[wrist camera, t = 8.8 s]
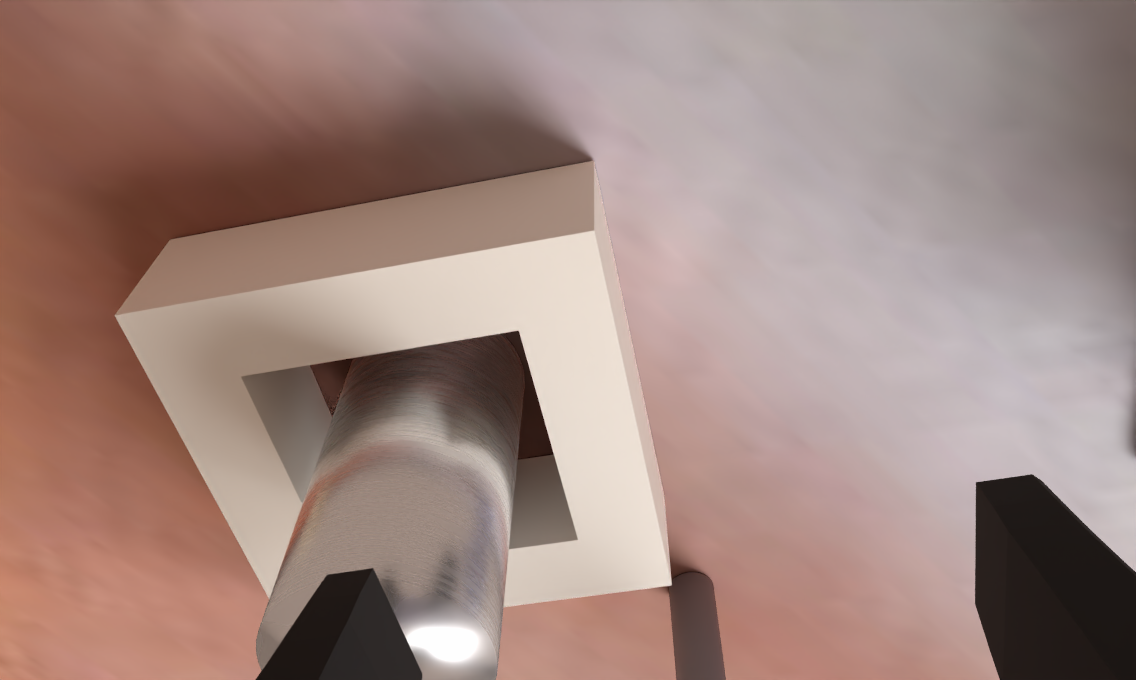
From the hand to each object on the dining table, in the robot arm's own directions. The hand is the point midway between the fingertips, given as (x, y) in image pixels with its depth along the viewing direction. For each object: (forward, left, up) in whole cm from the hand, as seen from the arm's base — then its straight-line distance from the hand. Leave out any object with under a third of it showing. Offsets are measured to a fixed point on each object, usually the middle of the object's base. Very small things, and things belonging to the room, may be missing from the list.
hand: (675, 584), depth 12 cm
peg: (+5, +3, -10) cm, 12 cm away
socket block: (+5, +3, -10) cm, 12 cm away
